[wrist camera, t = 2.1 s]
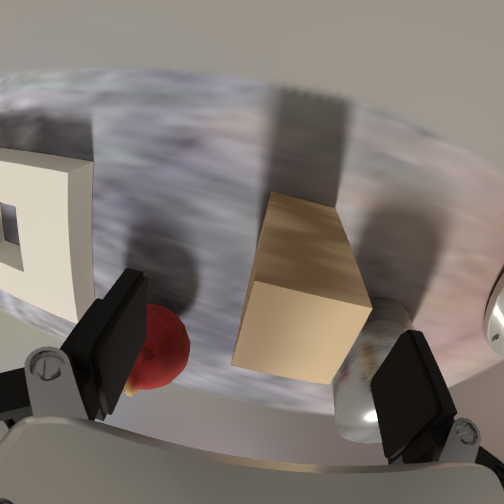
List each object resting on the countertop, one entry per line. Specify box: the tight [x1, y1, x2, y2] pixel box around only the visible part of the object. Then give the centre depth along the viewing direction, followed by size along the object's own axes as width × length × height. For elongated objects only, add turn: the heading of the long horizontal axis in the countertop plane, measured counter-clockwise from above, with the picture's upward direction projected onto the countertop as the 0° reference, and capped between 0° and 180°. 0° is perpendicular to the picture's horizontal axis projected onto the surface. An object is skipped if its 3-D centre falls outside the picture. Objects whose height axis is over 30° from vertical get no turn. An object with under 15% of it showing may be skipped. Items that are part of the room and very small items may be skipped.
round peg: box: [332, 297, 415, 443], centre depth 19 cm, size 7×7×8 cm
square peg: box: [231, 191, 373, 385], centre depth 15 cm, size 4×4×10 cm
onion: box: [124, 303, 190, 397], centre depth 20 cm, size 6×6×8 cm
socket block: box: [0, 148, 95, 324], centre depth 20 cm, size 16×12×3 cm
